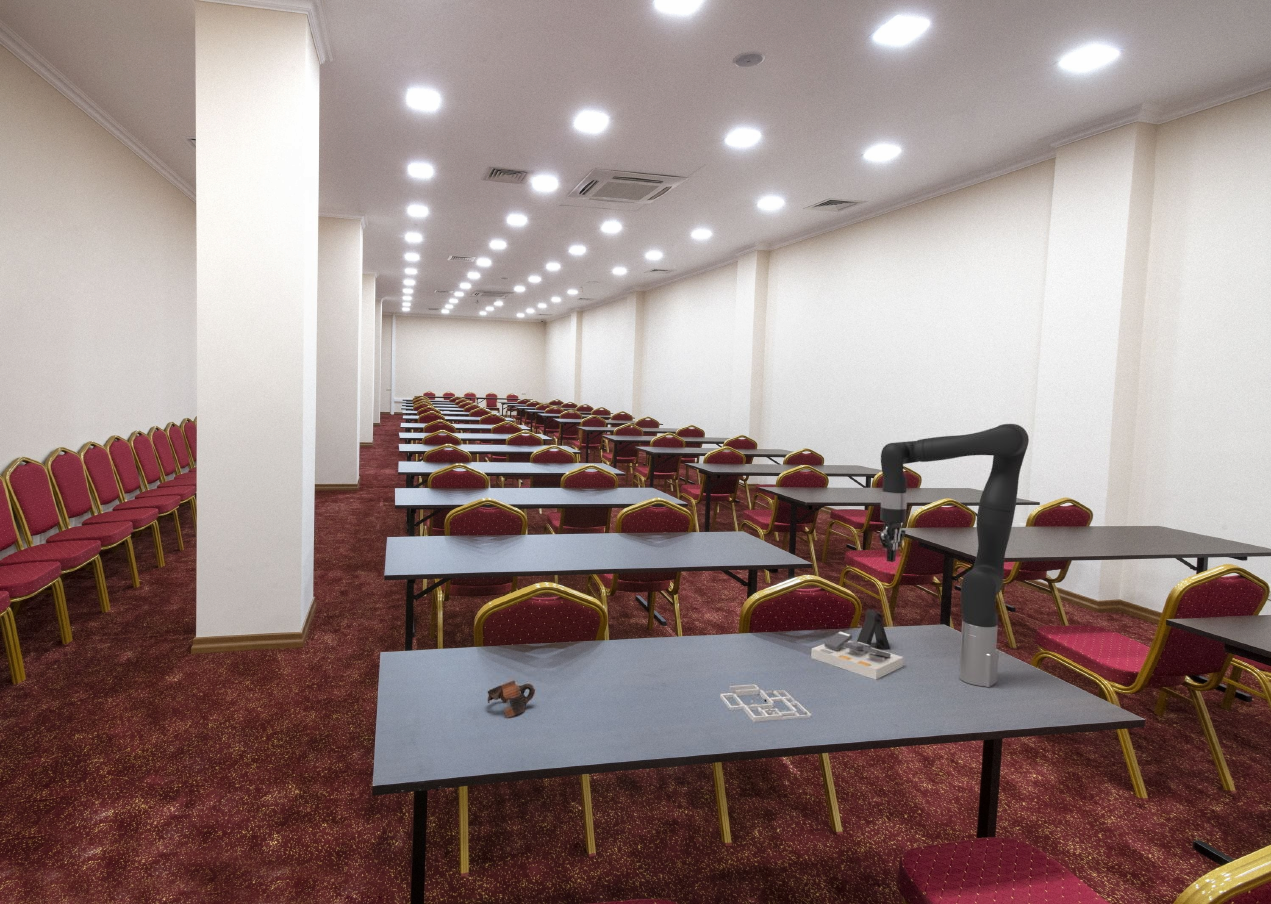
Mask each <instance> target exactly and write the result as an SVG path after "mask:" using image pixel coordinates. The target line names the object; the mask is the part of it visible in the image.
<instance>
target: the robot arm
mask: <svg viewBox="0 0 1271 904" xmlns="http://www.w3.org/2000/svg"><path fill="white" fill-rule="evenodd" d="M1029 439H1030V438H1029V435H1028V432H1027V430H1026V429H1025V428H1024V427H1023V426H1021V425H1019V424H1016V423H1004V424H999V425H998V426H996V427H992V428H989V429H985V430H982V431H977V432H974V433H968V434H960V435H945V436H936V437H928V438H921V439H917V440H911V441H910V440H909V441H899V442H890V443H887V444H885V445H884V446H883V447H882V450H881V453H880V466H881V474H882V477H883V479H882V488H881V489H882V492H881V498H880V515H879V516H880V517H879V519H880V521H882V522H883V526H882V532H879V533H878V538H879V540H880V543H881V546H882V547H883V549H886V561H887V562H890V563H893V562H896V556H897V554H896V553H897V550H898V548H901V545H902V542H903V541H904V537H905V535H906V530H903V529H902V527H903V525H902V524H903V523H905V522H907V505H908V500H907V499H908V497H907V489H908V485H907V484H908V481H907V476H906V474H905V473H904V465H907V464H912V463H919V462H920V463H927V462H938V461H945V460H951V459H957V458H962V457H964V458H965V457H969V456H970V457H971V456H973V457H974V456H993V458H992V465H991V469H990V470H991V471H990V473H989V476H988V479H987V480H986V483H985V486H984V487H983V491H982V494H981V496H980V500H979V503H978V509H977V514H976V535H977V543H978V544H977V552H976V556H975V557H976V558H975V561H974V565H973V567H972V569H971V570H969V571H967V572H966V573H965V574H964V575H963V578H962V579H961V586H960V610H961V614H962V619H961V620H962V621H961V635H960V636H961V638H960V640H961V641H960V656H959V672H958V673H959V674H958V677H959V679H960V680H961V681H963V682H965V683H966V684H969V685H973V686H980V687H987V688H990V687H992V686H994V685H995V684H996V683H998V671H999V654H1000V653H999V650H998V649H997V642H998V640H997V639H998V623H999V622H998V621H999V616H998V614H997V613H996V601H997V600H996V599H997V595H998V594H999V593H1000V592H1001V591H1002V589H1003V585H1004V572H1005V558H1006V556H1005V555H1006V551H1007V547H1008V544H1009V540H1010V537H1011V532H1012V529H1013V522H1014V518H1015V511H1016V506H1017V498H1018V490H1019V480H1020V479H1019V478H1020V472H1021V468H1022V466H1023V462H1024V460H1025V459H1024V458H1025V456H1026V452H1027V450H1028V446H1029V441H1030V440H1029Z"/></svg>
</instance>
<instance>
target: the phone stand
mask: <svg viewBox="0 0 1271 904" xmlns="http://www.w3.org/2000/svg"><path fill="white" fill-rule="evenodd" d="M883 620H884V617H883V615H882V613H880V612H878V611H876V610H875V609H873V608H868V609H866V611H865V619H864V622H863V625H862V627H861V629H860V632H859V635H858V637H857V639H856V642H861V643H864V644H868V645H871V648H875V649H878V650H881V651H889V650H891V647H890V643H889V640H888V637H887V634H886V629H885V627H884V624H883ZM873 637H875V641H874V642H872V641H873V639H874V638H873Z"/></svg>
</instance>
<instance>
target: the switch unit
mask: <svg viewBox="0 0 1271 904" xmlns="http://www.w3.org/2000/svg"><path fill="white" fill-rule="evenodd" d="M848 642H852V641H851V640H849V641H848ZM872 649H875V648H872ZM876 650H878V649H876ZM883 651H884V652H887V651H886V650H883ZM810 653H811V655H810V657H811V659H813V660H816V661H819V662H822V663H825V664H827V665H830V666H833V667H837V668H840V669H843V670H846V671H849V672H852V673H855V674H857V675H861V676H864V677H866V678H867V677H868V678H869V679H872V680H878V679H880V678H882V677H884V676H886V675H889V674H891V673H893V672H894V671H897V670H899V669H901V668H903V667H904V656H901V655H897V654H895V653H891V652H887V653H890V654H891V656H890V658H889V657H885V656H881V655H877V654H874V653H870V652H867V651H864V650H853V649H850V648H846V647H843V646H842V647H841V648H839V649H838V650H834V649H831V648H827V647H825V646H824V643H822V644H820V645H818V646H817V645H816V646H815V647H811V652H810Z"/></svg>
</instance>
